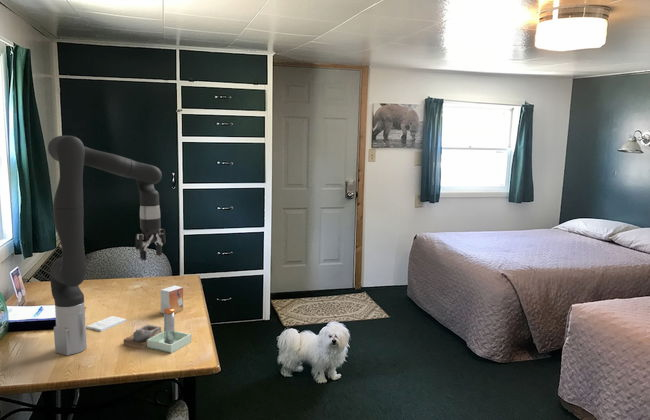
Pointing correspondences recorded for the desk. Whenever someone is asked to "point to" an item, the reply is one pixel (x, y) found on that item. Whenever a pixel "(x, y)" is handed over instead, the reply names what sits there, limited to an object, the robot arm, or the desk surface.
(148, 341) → the tray
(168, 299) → the small box
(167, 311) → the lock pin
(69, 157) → the robot arm
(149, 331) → the tensioner bracket
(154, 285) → the desk surface
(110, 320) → the external hard drive
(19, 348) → the desk surface
